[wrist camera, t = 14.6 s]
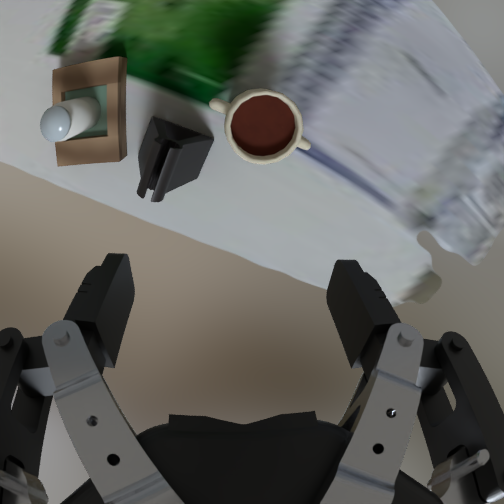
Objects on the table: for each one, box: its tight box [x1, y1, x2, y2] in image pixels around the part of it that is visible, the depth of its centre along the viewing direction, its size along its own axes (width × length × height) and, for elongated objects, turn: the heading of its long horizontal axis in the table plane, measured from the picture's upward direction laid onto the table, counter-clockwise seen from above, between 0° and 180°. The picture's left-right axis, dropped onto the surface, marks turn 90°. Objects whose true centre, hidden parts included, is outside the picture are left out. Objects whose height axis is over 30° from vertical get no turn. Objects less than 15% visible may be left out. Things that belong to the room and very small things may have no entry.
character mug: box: [209, 88, 311, 165], centre depth 29 cm, size 11×7×13 cm, turn 65°
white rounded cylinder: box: [40, 96, 101, 142], centre depth 26 cm, size 5×5×8 cm
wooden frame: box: [52, 56, 127, 166], centre depth 30 cm, size 14×10×3 cm
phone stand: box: [137, 117, 214, 202], centre depth 31 cm, size 9×6×12 cm, turn 64°
